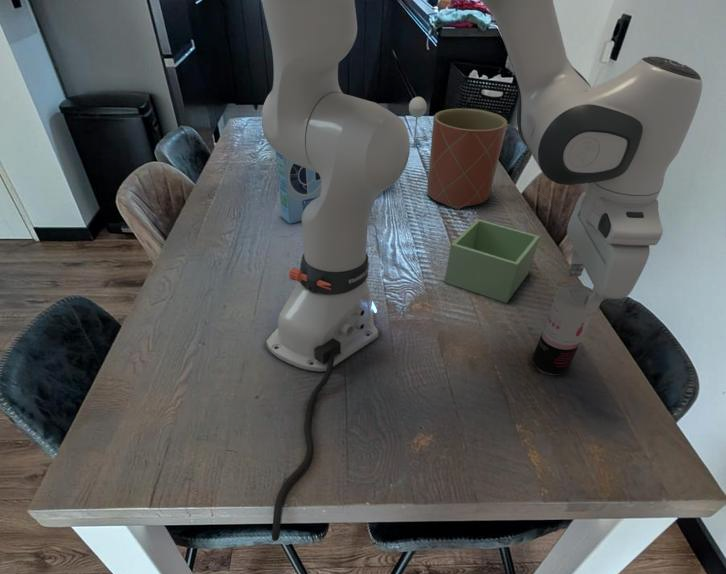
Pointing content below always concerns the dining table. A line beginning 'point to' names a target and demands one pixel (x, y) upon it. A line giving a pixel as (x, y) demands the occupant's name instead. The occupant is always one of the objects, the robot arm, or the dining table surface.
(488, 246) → the basket
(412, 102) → the lollipop
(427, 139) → the dining table surface
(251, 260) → the dining table surface
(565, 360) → the beverage can
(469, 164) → the planter
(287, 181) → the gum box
